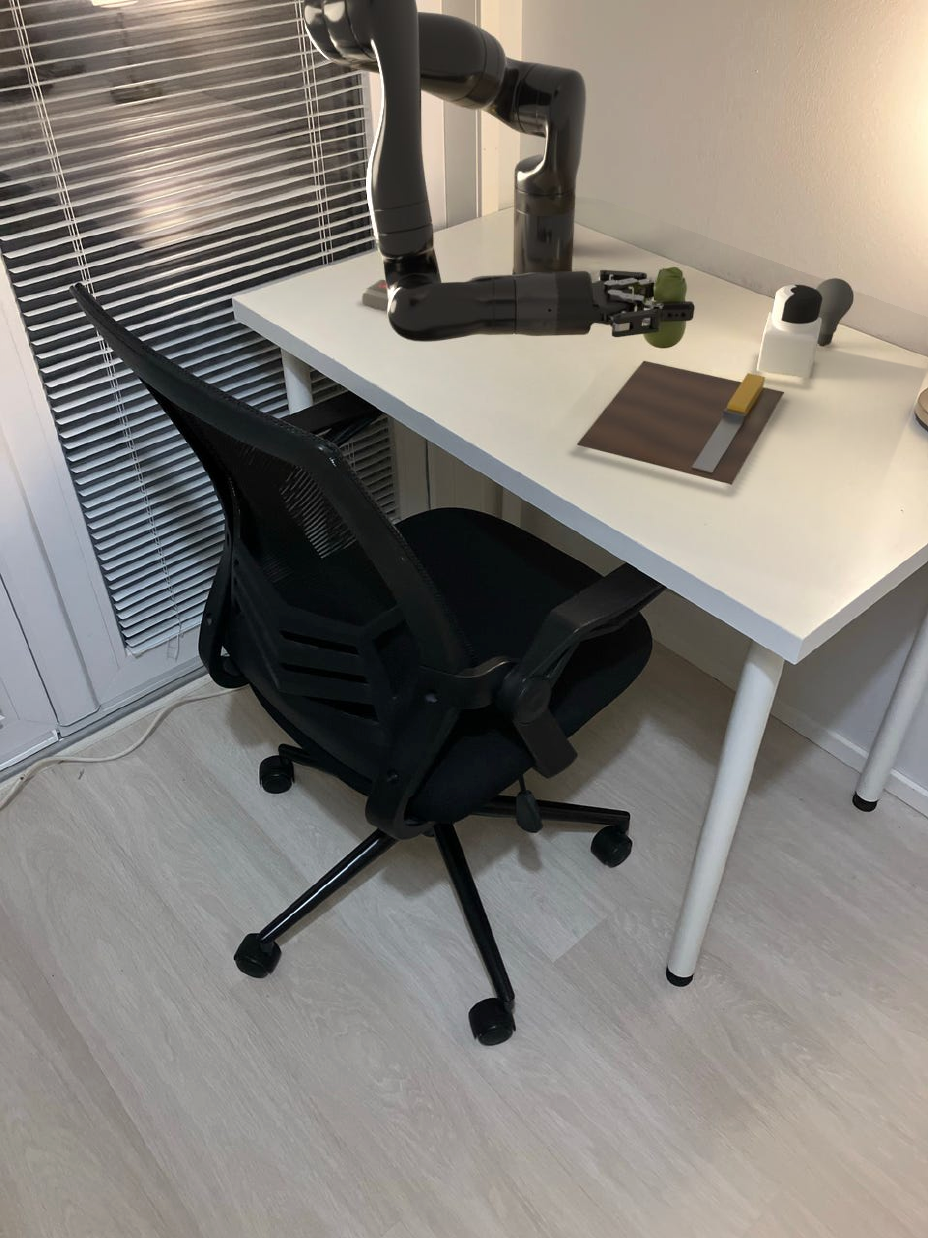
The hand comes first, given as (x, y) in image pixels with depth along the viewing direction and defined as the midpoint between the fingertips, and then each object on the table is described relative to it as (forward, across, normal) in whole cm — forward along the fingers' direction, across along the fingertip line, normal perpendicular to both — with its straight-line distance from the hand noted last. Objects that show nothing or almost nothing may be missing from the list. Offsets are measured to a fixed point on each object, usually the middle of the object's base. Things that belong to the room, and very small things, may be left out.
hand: (688, 300), depth 129 cm
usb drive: (-36, +35, +17) cm, 53 cm away
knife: (+6, -6, +15) cm, 17 cm away
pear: (-3, 0, +6) cm, 7 cm away
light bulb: (+25, +18, +16) cm, 35 cm away
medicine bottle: (+18, +11, +16) cm, 26 cm away
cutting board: (+1, -3, +16) cm, 17 cm away
